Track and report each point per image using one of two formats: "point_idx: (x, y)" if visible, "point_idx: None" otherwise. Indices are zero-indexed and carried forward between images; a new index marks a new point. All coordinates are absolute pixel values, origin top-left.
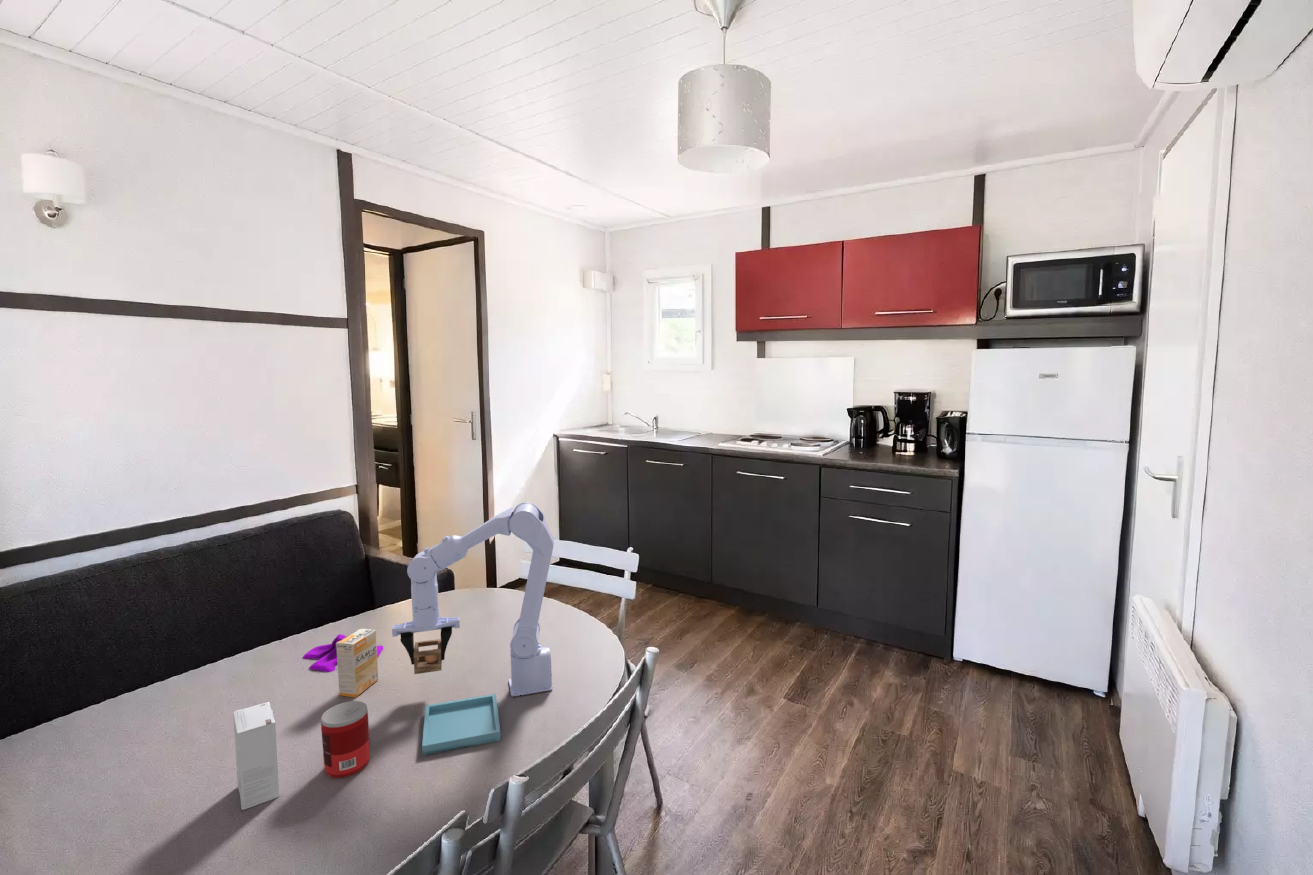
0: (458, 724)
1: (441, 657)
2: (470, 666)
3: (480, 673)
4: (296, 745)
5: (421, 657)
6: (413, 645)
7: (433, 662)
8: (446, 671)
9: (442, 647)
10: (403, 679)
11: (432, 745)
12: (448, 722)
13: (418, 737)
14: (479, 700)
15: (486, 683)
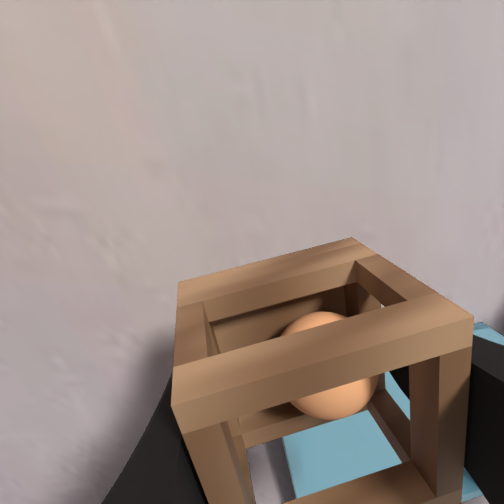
0: (379, 440)
1: (398, 382)
2: (405, 7)
3: (448, 103)
4: None
5: (229, 313)
6: (191, 502)
7: None
8: (285, 49)
9: (473, 466)
10: (64, 113)
11: None
12: (351, 435)
13: (274, 475)
14: None
15: (464, 199)
